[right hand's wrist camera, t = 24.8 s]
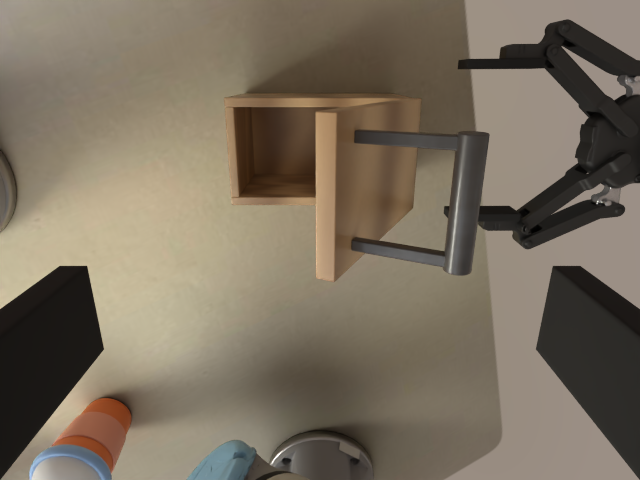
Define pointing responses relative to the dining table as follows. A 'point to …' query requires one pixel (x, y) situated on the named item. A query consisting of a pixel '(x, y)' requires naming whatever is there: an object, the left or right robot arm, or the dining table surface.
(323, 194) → the lid
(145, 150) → the dining table surface
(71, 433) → the cup with straw
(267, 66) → the dining table surface
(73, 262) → the dining table surface
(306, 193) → the chest
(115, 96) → the dining table surface
